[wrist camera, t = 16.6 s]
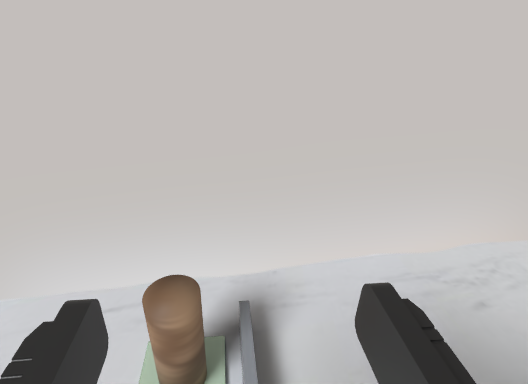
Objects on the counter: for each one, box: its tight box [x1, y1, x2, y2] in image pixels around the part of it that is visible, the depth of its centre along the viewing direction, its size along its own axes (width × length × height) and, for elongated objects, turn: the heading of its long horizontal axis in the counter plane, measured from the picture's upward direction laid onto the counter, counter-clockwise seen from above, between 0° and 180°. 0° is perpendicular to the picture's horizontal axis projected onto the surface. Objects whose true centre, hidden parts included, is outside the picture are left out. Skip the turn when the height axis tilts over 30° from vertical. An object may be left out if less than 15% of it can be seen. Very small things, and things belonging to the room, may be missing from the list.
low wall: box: [239, 301, 258, 384], centre depth 34 cm, size 1×13×4 cm, turn 7°
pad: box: [139, 336, 225, 384], centre depth 34 cm, size 9×9×1 cm
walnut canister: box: [142, 275, 207, 384], centre depth 31 cm, size 5×5×12 cm
